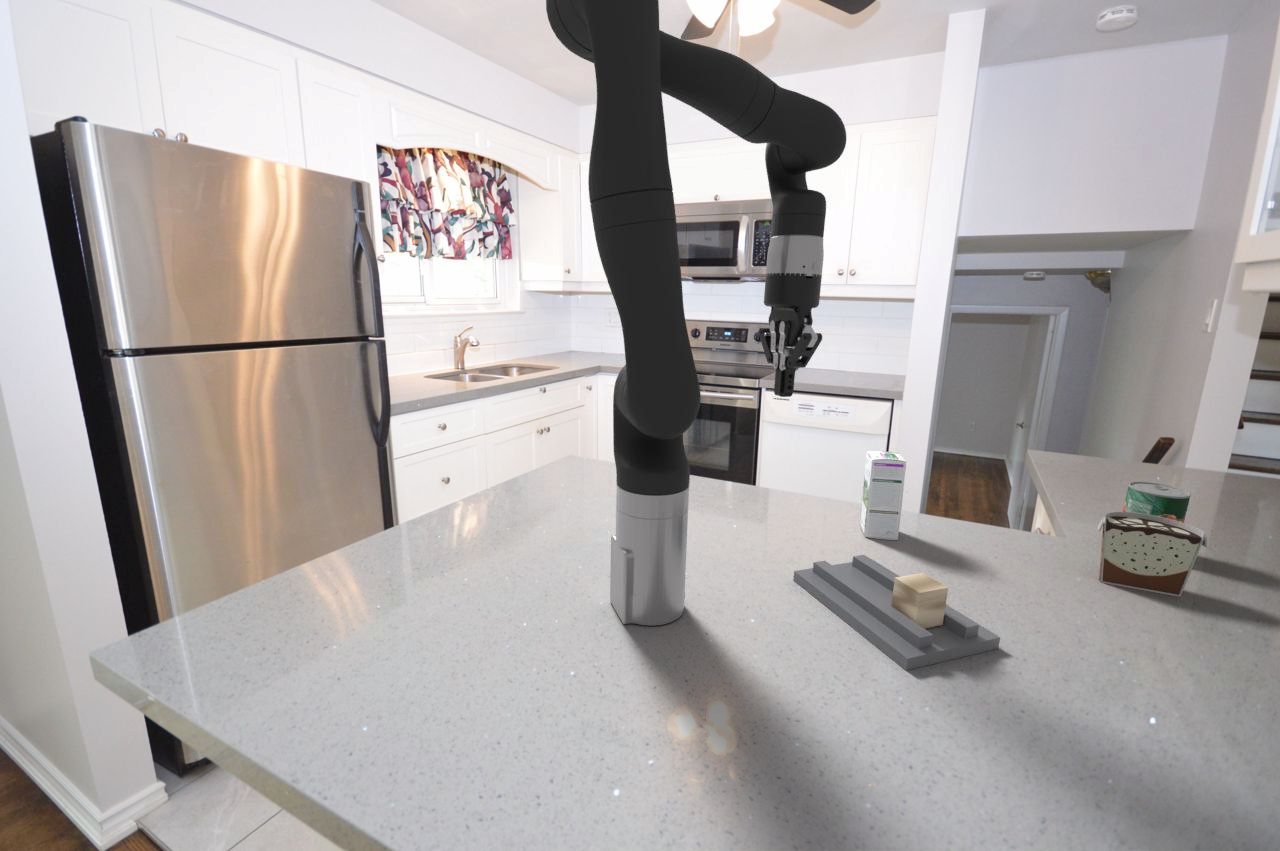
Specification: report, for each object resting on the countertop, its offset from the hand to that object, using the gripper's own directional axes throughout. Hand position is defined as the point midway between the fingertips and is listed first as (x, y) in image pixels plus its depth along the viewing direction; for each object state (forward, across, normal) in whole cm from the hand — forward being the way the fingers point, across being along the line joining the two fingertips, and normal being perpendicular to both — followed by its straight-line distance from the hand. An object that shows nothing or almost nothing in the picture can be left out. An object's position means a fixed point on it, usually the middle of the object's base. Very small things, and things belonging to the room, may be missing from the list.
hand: (783, 395), depth 83 cm
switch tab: (+25, +21, +8) cm, 34 cm away
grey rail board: (+27, +16, +8) cm, 32 cm away
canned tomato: (+26, +12, +66) cm, 72 cm away
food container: (+27, +20, +51) cm, 61 cm away
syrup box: (+27, -6, +26) cm, 38 cm away
